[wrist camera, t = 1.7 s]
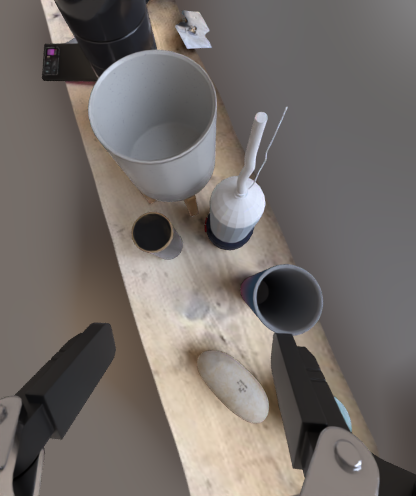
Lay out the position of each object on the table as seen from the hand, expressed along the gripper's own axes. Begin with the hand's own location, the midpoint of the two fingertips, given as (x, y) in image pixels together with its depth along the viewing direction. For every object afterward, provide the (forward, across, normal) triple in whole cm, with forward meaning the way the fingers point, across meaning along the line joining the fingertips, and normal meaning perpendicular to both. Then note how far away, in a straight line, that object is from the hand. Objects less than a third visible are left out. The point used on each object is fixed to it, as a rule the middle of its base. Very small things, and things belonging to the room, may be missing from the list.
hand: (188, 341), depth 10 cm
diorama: (+46, +6, -37) cm, 59 cm away
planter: (+31, +7, -6) cm, 33 cm away
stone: (+16, -2, +23) cm, 28 cm away
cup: (+23, -6, +11) cm, 27 cm away
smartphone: (+40, +30, -31) cm, 58 cm away
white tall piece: (+28, -2, +1) cm, 28 cm away
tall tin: (+26, +9, +4) cm, 27 cm away
